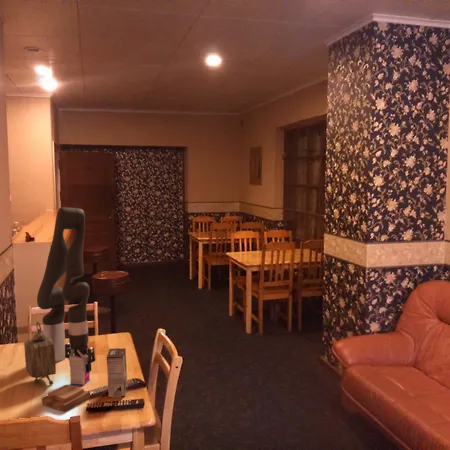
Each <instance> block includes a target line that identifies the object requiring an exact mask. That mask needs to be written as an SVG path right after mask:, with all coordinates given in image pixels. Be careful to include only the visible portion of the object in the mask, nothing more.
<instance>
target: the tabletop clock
mask: <svg viewBox="0 0 450 450" xmlns="http://www.w3.org/2000/svg"><path fill="white" fill-rule="evenodd" d="M35 323H36V330H37V333H35V334H34V335H33V337H32V338H28V339H27V340H26V341H24V344H23V345H24V359H25V360H24V362H25V367H26V372H27V373H28V375H29V377H31V378H34V381H33V382H34V384H38V382H39V380H38V379H39V378H44V377H45V378H46V379H47V380H48V384H49V385H51V386H52V385H53V384H54V381H53V380H51V378H50V376H51V375H52V376H53V375H56V373H57V372H56V371H57V369H56V363H57V362H55V350H54V344H53V341H52V340H51V338H50V337H49V336H45V334H43V332H42V327H41V326H42V325H41V324H40V322H39V321H36V322H35Z"/></svg>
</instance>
